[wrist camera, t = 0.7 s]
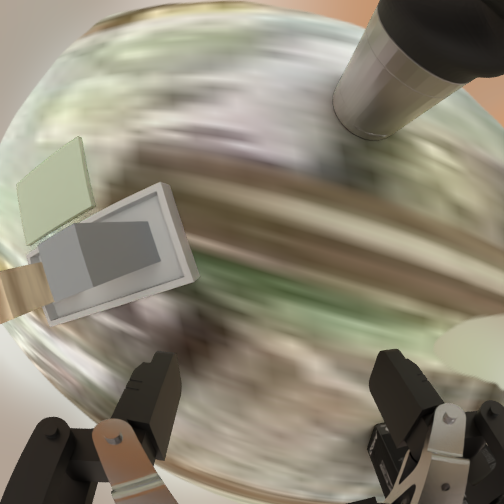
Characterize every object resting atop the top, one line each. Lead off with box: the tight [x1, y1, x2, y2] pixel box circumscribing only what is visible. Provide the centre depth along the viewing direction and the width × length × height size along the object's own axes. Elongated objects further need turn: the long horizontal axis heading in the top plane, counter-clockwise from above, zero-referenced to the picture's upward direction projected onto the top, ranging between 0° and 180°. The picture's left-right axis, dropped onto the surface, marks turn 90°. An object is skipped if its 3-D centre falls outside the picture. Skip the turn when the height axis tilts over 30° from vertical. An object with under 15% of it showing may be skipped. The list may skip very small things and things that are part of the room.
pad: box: [16, 136, 95, 246], centre depth 32 cm, size 16×11×1 cm
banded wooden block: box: [0, 262, 55, 324], centre depth 26 cm, size 5×5×14 cm
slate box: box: [37, 221, 161, 302], centre depth 25 cm, size 5×5×14 cm
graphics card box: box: [367, 423, 496, 504], centre depth 20 cm, size 17×7×27 cm, turn 90°
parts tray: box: [26, 182, 200, 327], centre depth 32 cm, size 26×12×3 cm, turn 109°
